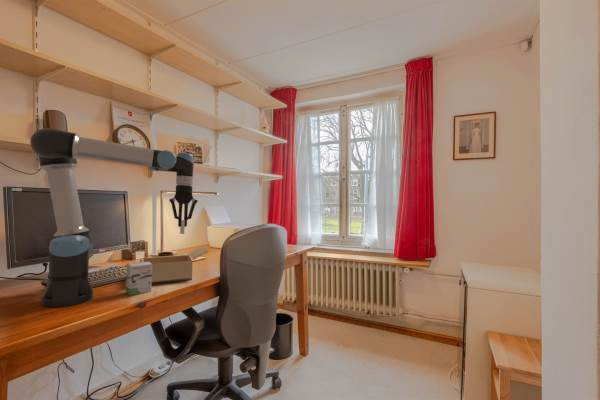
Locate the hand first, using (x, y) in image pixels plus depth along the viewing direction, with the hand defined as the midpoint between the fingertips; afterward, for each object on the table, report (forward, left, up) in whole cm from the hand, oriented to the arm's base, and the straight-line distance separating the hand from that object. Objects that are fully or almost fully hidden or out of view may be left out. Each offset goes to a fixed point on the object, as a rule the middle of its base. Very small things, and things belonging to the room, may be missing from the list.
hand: (182, 233), depth 141 cm
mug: (-4, +18, -22) cm, 29 cm away
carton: (-8, +4, -22) cm, 23 cm away
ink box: (-18, -14, -22) cm, 32 cm away
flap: (+4, +4, -12) cm, 14 cm away
